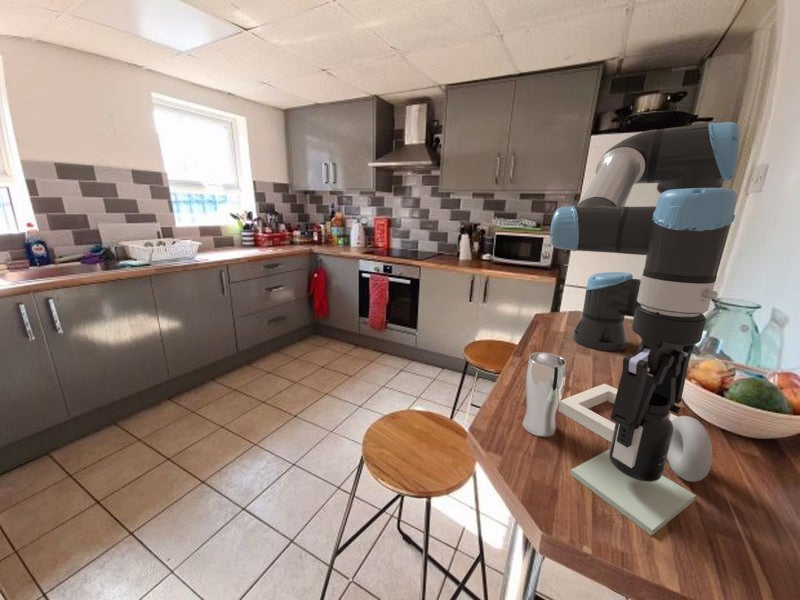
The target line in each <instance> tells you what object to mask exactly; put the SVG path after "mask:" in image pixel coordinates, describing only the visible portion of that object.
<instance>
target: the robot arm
mask: <svg viewBox="0 0 800 600" xmlns="http://www.w3.org/2000/svg"><path fill="white" fill-rule="evenodd" d="M740 135H741V134H740V126H739V124H737V123H736V122H733V121H727V122H725V121H724V122H712V121H710V122H707V123H700V124H691V125H685V126H678V127H677V126H676V127H675V126H674V127H669V128H660V129H657V128H656V129H650V130H645V131H642V132H638V133H636V134H634V135H631V136H629V137H627V138H625V139H622V141H620V142H618V143H616V144H614V145H613V146H612V147H610V148H609V149H608V150H607V151H605V153H604V154H603V155H602V156H601V157H600V159H599V161H598V163H597V164H596V168H595V175H594V178H593V179H592V181H591V182H590V184H589V185H588V187H587V189H586V190H585V192H584V193H583V195H582V197H581V199H580V200H579V202H578V203H577V205H576V206H575V205H570V206H561V207H558V208H557V209H556V210H555V211H554V214H553V215H552V219H551V224H550V237H549V238H550V243H551V245H552V246H553V248H555V249H559V250H568V251H572V252H595V253H611V254H625V255H636V256H637V255H638V256H645V263H644V268H643V269H642V270H643V272H642V275H641V277H640V278H634V276H633V273H630V272H623V271H622V272H621V271H620V272H619V271H618V272H617V271H615V272H614V271H611V272H610V271H606V272H599V273H598V272H597V273H593V274H592V275H590V276H589V278H588V279H587V282H586V283H587V284H586V287H585V295H584V296H585V297H584V304H583V308H582V315H581V318H580V320H579V322H578V323H577V326H576V327H575V329H574V331H573V334H572V339H573V340H574V341H575V342H576V343H578V344H579V345H581V346H584V347H587V348H590V349H594V350H599V351H607V352H617V351H622V350H624V349H626V345H627V342H628V341H627V335H626V329H625V325H624V322H625V321H624V320H625V316H626V317H632V318H633V320H632V325H631V329H632V331H633V332H634V333H635V334H636V335H638V336H639V337H640V338H641V342H640V343H639V346H638V347H637V351H636V353H635V356H630V355H628V354H626V355H624V357H623V360H622V372H621V377H620V379H619V383H618V388H617V389H618V391H617V394H616V398H615V402H614V404H613V407H612V410H611V415H610V421H612V422H613V421H614V422H615V423H616V422H617V423H619V426H618V431H617V436H616V440H615V445H614V450H613V455H612V456H613V457H614V458H616V459H618V460H619V461H621V462H622V463H624V464H626V465H627V466H629V467H630V468H632V467H634V465H635V461H636V456H637V452H638V448H639V443H640V439H641V435H642V430H643V427H641V426H640V424H641V421H642V419H643V416H644V414H645V411H646V409H647V406H648V404H649V402H650V399H651V397H652V394H653V392H654V393H657V394H659V395H661V396H663V397H665V398H666V399H668V401H669V402H670V409H669V415H668V418H670V414H672V413H674V414H676V415H677V414H680V411H681V407H679V406H678V405H679V404H681V402H682V398H683V393H684V390H685V389H684V387H685V383H686V378H687V374H688V369H689V364H690V359H691V356H692V353H693V350H694V349H695V346H694V345H696V344H698V343H700V342H701V341H702V337H703V333H704V329H705V326H706V322H707V317H706V316H705V315H704V314H705V313H707V312H708V311H709V309H710V304H711V300H712V299H713V300H715V299H716V298H717V297H718V295H719V294H718V292H717V291H715V290H714V288H715V285H716V282H717V278H718V272H719V269H720V265H721V261H722V258H723V254H724V252H725V247H726V244H727V239H728V235H729V232H730V229H731V226H732V223H733V222H734V221H735V218H736V215H735V209H736V204H737V197H738V193H737V192H736V190H734V189H733V188H728V187H727V188H726V187H723V184H724V182H728V181H732V180H734V178H735V175H736V171H737V165H738V158H739V157H738V156H739V147H740ZM638 184H657V186H656V191H657V193H658V194H660V195H659V196H658V198H657V201H656V206H626V203H627V201H628V199H629V196H630V194H631V191H632V188H633V186H634V185H638ZM649 374H650V375H649ZM676 404H677V405H676ZM671 412H672V413H671Z"/></svg>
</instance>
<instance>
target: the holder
mask: <svg viewBox="0 0 800 600" xmlns="http://www.w3.org/2000/svg"><path fill="white" fill-rule="evenodd" d="M617 391H618V388H616V387H613V386H611V385H609V384H606V383H602V384H599V385H597V386H595V387H592V388H589V389H587V390H584V391H582V392H579V393H577V394H574V395H571V396H568V397H566V398H563V399H561V400H560V402H559V405H558V409H557V411H558V412H559V413H561V414H563V415H564V416H566V417H568V418H569V419H571V420H573V421H575V422H576V423H578V424H580V425H581V426H583V427H585V428H586V429H588V430H589V431H591V432H593V433H595V434H597V435H598V436H600V437H602V438H603V439H604V440H607V442H610V444H611V443H612V438H613V433H614V428H615V423H616V422H615V423H614V422H613V421H612V420H610V419H607V418H605V417H604V416H601V415H599V414H598V413H597V412H594V411H592V410H591V408H593V407H595V406H598V405H601V404H602V403H605V402H609V403H611V404H613V405H614V402H615V398H616V394H617ZM677 417H679V416H677V415H675V414H673V413H671V414H670V418H669V419H670V420H671V421H672V420H673V419H675V418H677Z"/></svg>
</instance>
